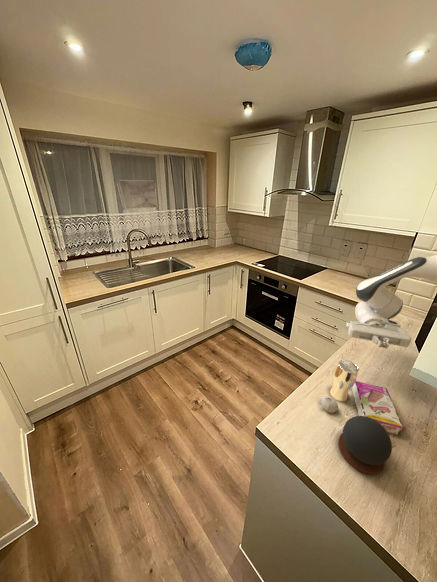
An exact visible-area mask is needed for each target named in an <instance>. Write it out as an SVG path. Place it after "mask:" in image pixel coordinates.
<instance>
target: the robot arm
mask: <svg viewBox="0 0 437 582" xmlns="http://www.w3.org/2000/svg"><path fill="white" fill-rule="evenodd" d="M405 278H419V279H423V280H427V281H429V282H432V283H436V284H437V254H434V255H431V256H426V257H422V256H416V257H414V258H411V259H408V260H406V261H404V262H402V263H400V264H398V265H396V266H394V267H392V268H389V269H387V270H385V271H383V272H381V273H379V274H377V275H374V276H372V277H371V276H370V277H368V278H365V279H363V280H362V281H360V282H359V283H358V284H357V285H356V288H355V294H356V298H357V299H359V300H360V302H358V303H357V304H356V305H355V308H354V315H355V318H356V320H357V321H356V320H355V321H354V320H352V321H346V322H345V326H346V327H347V333H348V334H347V335H348V336H349V337H351V338H353V339H359V340H365V341H371V342H372V343H374V344H375V345H377V347H378V348H383V349H389V346H390V345H393V346H398V347H403V348H407V347H409V346H410V344H411V343H412V338H411V336H410V334H409V333H408V331H406V330H405V328H403V327H401V323H400V322H398V321H394V320H391V319H393V318H395V317H397V316H398V315H399V314H400V313H401V311H402V309H403V305H404V302H403V299H402V298H400V297H399V296H398V295H397V294H395V292H393V291H391V290H390V289H389V288H388V287H387V286H388V285H391V284H393V283H395V282H398V281H400V280H402V279H405Z"/></svg>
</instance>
